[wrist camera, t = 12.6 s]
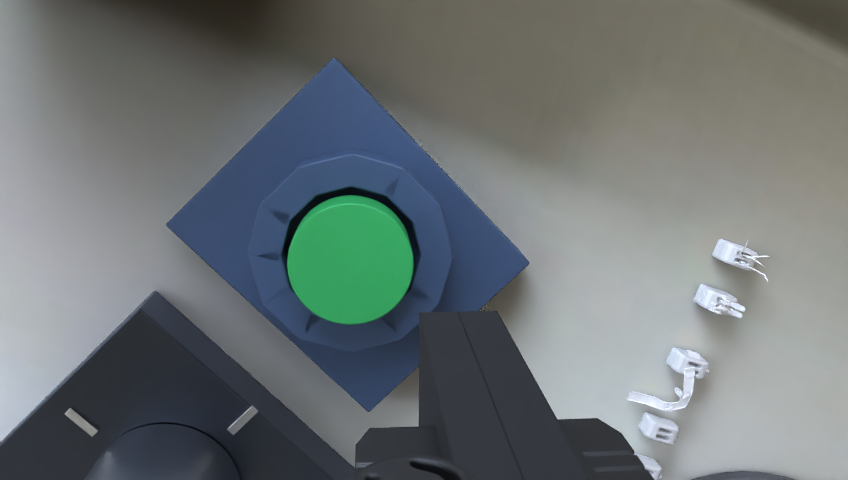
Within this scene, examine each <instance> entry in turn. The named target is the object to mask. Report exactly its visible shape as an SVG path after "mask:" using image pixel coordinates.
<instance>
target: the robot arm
mask: <svg viewBox="0 0 848 480" xmlns="http://www.w3.org/2000/svg"><path fill="white" fill-rule="evenodd" d="M353 480H654V478H653V477H652V476H651V474H650V473H649V471H648V470H645V466H644V464H643V463H642V462H641V460H640V459H639V457H638V456H637V455H634V450H633V449H632V448H631V446H630V445H629V443H628V442H627V441H626V439H625V438H624V436H623V435H622V433H620V432H619V431H617V430H615V429H614V428H612V427H610V426H609V425H607V424H606V423H604V422H602V421H601V420H599V419H598V418H592V419H561V420H557V418H556V416H555V415H554V413H553V411H552V409H551V407H550V406H549V404H548V402H547V400H546V398H545V397H544V395H543V393H542V391H541V389H540V388H539V386H538V384H537V382H536V380H535V379H534V377H533V375H532V373H531V371H530V370H529V368H528V366H527V364H526V362H525V361H524V359H523V357H522V355H521V353H520V352H519V350H518V348H517V346H516V344H515V343H514V341H513V339H512V337H511V335H510V334H509V332H508V330H507V328H506V326H505V325H504V323H503V321H502V319H501V317H500V316H499V314H498V312H497V311H461V312H419V427H391V428H370V429H369V430H368V431H367V432H366V433H365V435H364V436H363V437H362V438H361V439H360V440H359V442H358V443H357V444H356V457H355V476H354V479H353ZM692 480H794V479H791V478H788V477H784V476H780V475H775V474H770V473H762V472H747V471H739V472H725V473H718V474H712V475H707V476H703V477H699V478H695V479H692Z"/></svg>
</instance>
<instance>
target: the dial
mask: <svg viewBox="0 0 848 480" xmlns="http://www.w3.org/2000/svg"><path fill="white" fill-rule="evenodd" d="M84 480H240V476H239V474H238V471H237V468H236V466H235V464H234V462H233V460H232V459H231V457H230V456H229V455H228V453H227V452H226V451H225V450H224V449H223V448H222V447H221V446H220V445H219V444H218V443H217V442H216V441H214V440H213V439H212V438H210V437H208V436H207V435H205V434H203V433H201V432H199V431H197V430H194V429H191V428H189V427H185V426H180V425H174V424H155V425H148V426H144V427H140V428H136V429H134V430H132V431H129V432H127V433H125V434H123V435H122V436H120V437H118V438H117V439H116V440H115V441H113V442H112V443H111V444H110V445H109V446H108V447H107V448H106V449H105V450H104V451H103V453H102V454H101V455H100V457H99V458H98V460H97V461H96V463H95V464H94V466H93V467H92V469H91V470H90V472H89V473H88V474H87V476H86V477H85V479H84Z"/></svg>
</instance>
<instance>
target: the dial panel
mask: <svg viewBox="0 0 848 480" xmlns="http://www.w3.org/2000/svg"><path fill="white" fill-rule="evenodd" d="M155 424H174V425H180V426H185V427H189V428H191V429H194V430H197V431H199V432H201V433H203V434H205V435H207V436H208V437H210V438H212V439H213V440H214V441H216V442H217V443H218V444H219V445H220V446H221V447H222V448H223V449H224V450H225V451H226V452H227V453H228V455H229V456H230V457H231V459H232V460H233V462H234V464H235V466H236V468H237V471H238V474H239V476H240V480H353V479H354V476H355V468H354V467H352V466H351V465H350V464H349V463H348V462H347V461H346V460H345V459H343V458H342V457H341V456H340V455H339V454H338V453H337V452H336V451H335V450H333V449H332V448H331V447H330V446H329V445H328V444H327V443H326V442H324V441H323V440H322V439H321V438H320V437H319V436H318V435H317V434H316V433H314V432H313V431H312V430H311V429H310V428H309V427H308V426H307V425H305V424H304V423H303V422H302V421H301V420H300V419H299V418H298V417H297V416H295V415H294V414H293V413H292V412H291V411H290V410H289V409H288V408H286V407H285V406H284V405H283V404H282V403H281V402H280V401H279V400H278V399H276V398H275V397H274V396H273V395H272V394H271V393H270V392H269V391H268V390H266V389H265V388H264V387H263V386H262V385H261V384H260V383H259V382H257V381H256V380H255V379H254V378H253V377H252V376H251V375H250V374H249V373H247V372H246V371H245V370H244V369H243V368H242V367H241V366H240V365H238V364H237V363H236V362H235V361H234V360H233V359H232V358H231V357H230V356H228V355H227V354H226V353H225V352H224V351H223V350H222V349H221V348H219V347H218V346H217V345H216V344H215V343H214V342H213V341H212V340H211V339H209V338H208V337H207V336H206V335H205V334H204V333H203V332H202V331H200V330H199V329H198V328H197V327H196V326H195V325H194V324H193V323H192V322H190V321H189V320H188V319H187V318H186V317H185V316H184V315H183V314H181V313H180V312H179V311H178V310H177V309H176V308H175V307H174V306H173V305H171V304H170V303H169V302H168V301H167V300H166V299H165V298H164V297H163V296H161V295H160V294H159V293H158V292H157V291H154V292H153V293H152V294H151V295H150V296H149V297H147V298H146V299H145V300H144V301H143V302H142V303H141V304H140V305H139V306H138V307H137V308H136V309H135V310H134V311H133V312H132V313H131V314H130V315H129V316H128V317H127V318H126V319H125V320H124V321H123V322H122V323H121V324H120V325H119V326H118V327H117V328H116V329H115V330H114V331H113V332H112V333H111V334H110V335H109V336H108V337H107V338H106V339H105V340H104V341H103V342H102V343H101V344H100V345H99V346H98V347H97V348H96V349H95V350H94V351H93V352H92V353H91V354H90V355H89V356H88V357H86V358H85V359H84V360H83V361H82V362H81V363H80V364H79V365H78V366H77V367H76V368H75V369H74V370H73V371H72V372H71V373H70V374H69V375H68V376H67V377H66V378H65V379H64V380H63V381H62V382H61V383H60V384H59V385H58V386H57V387H56V388H55V389H54V390H53V391H52V392H51V393H50V394H49V395H48V396H47V397H46V398H45V399H44V400H43V401H42V402H41V403H40V404H39V405H38V406H37V407H36V408H35V409H34V410H33V411H32V412H31V413H30V414H29V415H28V416H27V417H26V418H24V419H23V420H22V421H21V422H20V423H19V424H18V425H17V426H16V427H15V428H14V429H13V430H12V431H11V432H10V433H9V434H8V435H7V436H6V437H5V438H4V439H3V440H2V441H1V442H0V480H84V479H85V477H86V476H87V474H88V473H89V472H90V470H91V469H92V467H93V466H94V464H95V463H96V461H97V460H98V458H99V457H100V455H101V454H102V453H103V451H104V450H105V449H106V448H107V447H108V446H109V445H110V444H111V443H112V442H113V441H115V440H116V439H117V438H118V437H120V436H122V435H123V434H125V433H127V432H129V431H132V430H134V429H136V428H140V427H144V426H148V425H155Z"/></svg>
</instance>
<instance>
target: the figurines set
mask: <svg viewBox="0 0 848 480" xmlns="http://www.w3.org/2000/svg"><path fill="white" fill-rule="evenodd" d="M748 237H749V236H748ZM747 242H748V240H747ZM746 246H747V244H746V245H745V247H744V246H741V245H738V244H735V243H732V242H730V241H727V240H724V239H719V240H718V242H717V244H716V246H715V249H714V251H713V253H712V255H713V257H714V258H716V259H719V260H721V261H723V262H725V263H727V264H730V265H733V266H736V267H739V268H742V269H745V270H748V271H751V270H752V269H753V270H755V271H757V272H758V273H760V274H762V275H764V277H765V278H766V280H767V282H768V279H767V277H766V275H765V274H763V273H761V272H759V271H758V270H756V269H754V268H753V267H754V264H755V262H758V261H757V258H760V257H770V256H768V255H767V256H758V253H756V252H754V251H752V250H751V249H749V248H747V247H746ZM758 263H759V264H761V263H760V262H758ZM761 265H762V264H761ZM762 266H763V265H762ZM764 267H765V266H764ZM765 268H766V267H765ZM694 302H695V303H697V304H699V305H700V306H702V307H704V308H706V309H708V310H710V311H712V312H715V313H717V314H723V315H726V316H731V315H733V316H735V317H738V318H741V317H742V314H741V313H739V312H737V311H735V310H734V309H737V310H740V311H745V307H743V306H741V305H739V304H737V302H738V300H737V298H735V297H734V296H732V295H731V294H730V293H727V292H724V291H721V290H718V289H716V288H713V287H710V286H707V285H704V284H701V285H700V286H699V289H698V291H697V293H696V296H695V298H694ZM666 364H667V365H668V366H670V367H671V368H672V369H673V370H674V371H676V372H678V373H681V374H683V375H684V386H683V392H682V391H681V390H680V389H679V388H678V387H675V390H674V392H675V393H676V394H677V395H678V396H679V397H680V400H679V402H673V403H668V402H664V401H662V400H660V399H658V398H655V397H654V396H653V395H645V394H642V393H638V392H633V391H630V394H629V397H628V399H627V400H630V401H635V402H639V403H642V404H646V405H649V406H652V407H655V408H657V409H660V410H666V411H667V412H671V411H674V410H678V409H682V408H686V407H687V404H688V402H689V400H690V397H691V395H692V393H693V386H694V378H696V379H703V378H704V376H705V373H706V374H708V373H709V370H707V369H708V367H709V363H708V362H707V361H706V360H705V359H704V357H702V356H701V355H699V354H698V353H696V352H693V351H690V350H687V351H685V350H682V349H679V348H676V347H674V348H672V350H671V353H670V355H669V357H668V359H667V362H666ZM670 404H671V405H670ZM669 405H670V407H669ZM668 407H669V408H668ZM638 428H639V430H640V431H642V433H643V434H644V435H645V436H646V437H648V438H649V439H652V440H656V441H659V442H662V443H665V444H669V445H672V444H674V443H675V441H676V437H677V436H678V433H679V428H678V426H677V425H676V423H675V422H674V421H673V420H670V419H666V418H659V417H657V416H655V415H653V414H651V413H647V412H645V413H644V414H643V417H642V420H641V423H640V424H639V426H638ZM677 438H678V437H677ZM634 455H637V456H638V457H639V459H640V460H641V462H642V463H643V464H644V466H645V470H648V471H649V473H650V474H651V476H652V477H653V478H654V480H658V478H659V479H661V478H662V476H661V475H660V473H661V470H662V469H661V467H660V466H659V464H658V462H657V461H656V460H655V459H652V458H649V457H645V456H642V455H639V454H635V453H634Z"/></svg>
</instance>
